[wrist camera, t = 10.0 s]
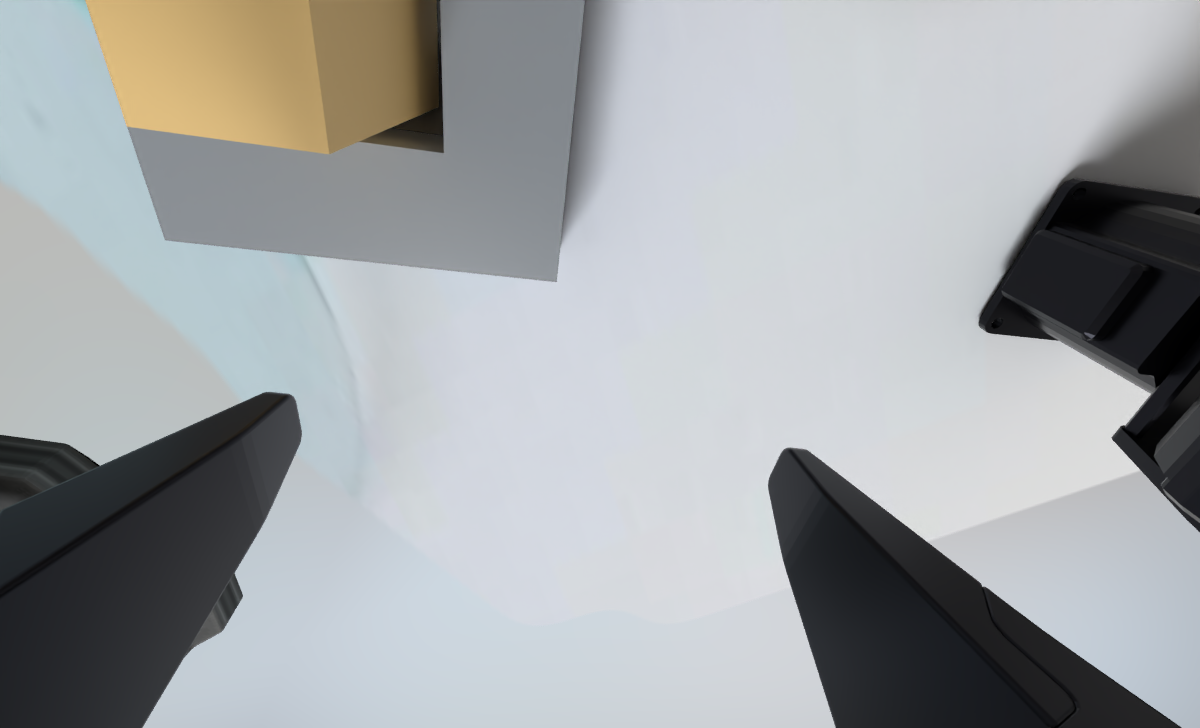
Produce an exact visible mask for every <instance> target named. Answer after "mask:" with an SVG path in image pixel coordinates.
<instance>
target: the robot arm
mask: <svg viewBox="0 0 1200 728" xmlns="http://www.w3.org/2000/svg"><path fill="white" fill-rule="evenodd" d="M1075 191H1076V193H1075V194H1074V195H1073V193H1074V192H1075ZM1072 195H1073V196H1072ZM994 320H995V321H994ZM993 321H994V322H993ZM992 322H993V323H992ZM979 326H980V328H981V329H983V330H985V331H986V332H988V333H991V334H1001V335H1010V336H1020V337H1029V338H1039V339H1048V340H1058V341H1061V342H1062V343H1064V344H1066V345H1068V346H1069V347H1071V348H1073V349H1075V350H1076V351H1078V352H1080V353H1081V354H1083V355H1085V356H1087V357H1088V358H1090V359H1092V360H1094V361H1095V362H1097V363H1099V364H1101V365H1102V366H1104V367H1106V368H1107V369H1109V370H1111V371H1113V372H1114V373H1116V374H1118V375H1120V376H1121V377H1123V378H1125V379H1126V380H1128V381H1130V382H1132V383H1133V384H1135V385H1137V386H1139V387H1140V388H1142V389H1144V390H1145V391H1147V392H1149V393H1151V395H1150V396H1149V397H1148V399H1147V400H1146V401H1145V402H1144V404H1143V405H1142V406H1141V407H1140V408H1139V410H1138V411H1137V412H1136V413H1135V415H1134V416H1133V417H1132V418H1131V419H1130V421H1129V422H1128V423H1127V424H1126V426H1121V427H1120V428H1119V429H1118V430H1117V432H1116V433H1115V434H1114V435H1113V436H1112V440H1113V441H1114V442H1115V443H1116V444H1117V445H1118V446H1119V447H1120V448H1121V449H1122V450H1123V451H1124V453H1125V454H1126V455H1127V456H1128V457H1129V458H1130V459H1131V460H1132V461H1133V462H1134V463H1135V464H1136V466H1137V467H1138V468H1139V469H1140V470H1141V471H1142V472H1143V473H1144V474H1145V475H1146V476H1147V477H1148V478H1149V480H1150V481H1151V482H1152V483H1153V484H1154V485H1155V486H1156V487H1157V488H1158V489H1159V490H1160V491H1161V493H1162V494H1163V495H1164V496H1165V497H1166V498H1167V499H1168V500H1169V501H1170V502H1171V503H1172V504H1173V506H1174V507H1175V508H1176V509H1177V510H1178V511H1179V512H1180V513H1181V514H1182V515H1183V516H1184V517H1185V518H1186V520H1187V521H1189V522H1190V523H1191V524H1192V525H1193V526H1194V527H1195V528H1196V529H1197V530H1198V531H1199V532H1200V197H1195V196H1189V195H1182V194H1176V193H1169V192H1163V191H1156V190H1150V189H1143V188H1137V187H1130V186H1124V185H1117V184H1111V183H1104V182H1098V181H1091V180H1085V179H1072V180H1069V181H1067V182H1066V183H1065V184H1063V185H1062V186H1061V188H1060V189H1059V190H1058V192H1057V193H1056V195H1055V197H1054V198H1053V200H1052V202H1051V203H1050V205H1049V206H1048V208H1047V210H1046V211H1045V213H1044V215H1043V216H1042V218H1041V220H1040V221H1039V223H1038V224H1037V226H1036V228H1035V229H1034V231H1033V233H1032V234H1031V236H1030V238H1029V239H1028V241H1027V242H1026V244H1025V246H1024V247H1023V249H1022V251H1021V252H1020V254H1019V256H1018V257H1017V259H1016V260H1015V262H1014V264H1013V265H1012V267H1011V269H1010V270H1009V272H1008V274H1007V275H1006V277H1005V278H1004V280H1003V282H1002V283H1001V285H1000V287H999V288H998V290H997V291H996V293H995V295H994V296H993V298H992V300H991V301H990V303H989V305H988V306H987V308H986V309H985V311H984V313H983V314H982V316H981V318H980V320H979ZM301 437H302V430H301V425H300V419H299V414H298V409H297V404H296V400H295V398H294V397H293V396H292V395H290V394H284V393H275V392H265V393H262V394H260V395H258V396H255V397H253V398H251V399H249V400H246V401H244V402H242V403H240V404H238V405H235V406H233V407H231V408H229V409H226V410H224V411H222V412H220V413H218V414H215V415H213V416H211V417H209V418H206V419H204V420H202V421H200V422H197V423H195V424H193V425H191V426H188V427H186V428H184V429H182V430H179V431H177V432H175V433H173V434H170V435H168V436H166V437H164V438H162V439H159V440H157V441H155V442H153V443H150V444H148V445H146V446H144V447H142V448H139V449H137V450H135V451H132V452H130V453H128V454H126V455H123V456H121V457H119V458H117V459H114V460H112V461H110V462H108V463H105V464H103V465H101V466H99V467H97V468H94V469H92V470H90V471H88V472H85V473H83V474H81V475H79V476H76V477H74V478H72V479H70V480H67V481H65V482H63V483H61V484H58V485H56V486H54V487H52V488H49V489H47V490H45V491H43V492H40V493H38V494H36V495H34V496H32V497H29V498H27V499H25V500H23V501H20V502H18V503H16V504H14V505H11V506H9V507H7V508H5V509H3V510H1V512H0V728H142V727H143V726H144V724H145V722H146V721H147V719H148V717H149V715H150V714H151V712H152V711H153V709H154V707H155V705H156V704H157V702H158V700H159V699H160V697H161V695H162V694H163V692H164V690H165V689H166V687H167V685H168V684H169V682H170V680H171V679H172V677H173V675H174V674H175V672H176V670H177V669H178V667H179V665H180V663H181V662H182V660H183V658H184V657H185V655H186V653H187V652H188V650H189V648H190V647H191V645H192V643H193V642H194V640H195V638H196V637H197V635H198V633H199V632H200V630H201V628H202V627H203V625H204V623H205V621H206V620H207V618H208V616H209V615H210V613H211V611H212V610H213V608H214V606H215V605H216V603H217V601H218V600H219V598H220V596H221V595H222V593H223V591H224V590H225V588H226V586H227V585H228V583H229V581H230V579H231V578H232V576H233V574H234V573H235V571H236V569H237V568H238V566H239V564H240V563H241V561H242V559H243V558H244V556H245V554H246V553H247V551H248V549H249V547H250V546H251V544H252V543H253V541H254V539H255V537H256V536H257V534H258V532H259V531H260V529H261V527H262V525H263V523H264V521H265V520H266V518H267V515H268V513H269V511H270V509H271V507H272V505H273V503H274V500H275V498H276V496H277V494H278V491H279V489H280V487H281V485H282V482H283V480H284V478H285V476H286V474H287V472H288V469H289V467H290V465H291V462H292V460H293V458H294V456H295V454H296V451H297V449H298V447H299V445H300V442H301ZM768 489H769V495H770V500H771V504H772V509H773V514H774V519H775V524H776V529H777V534H778V539H779V544H780V549H781V553H782V557H783V562H784V565H785V568H786V572H787V575H788V578H789V581H790V585H791V588H792V591H793V594H794V597H795V600H796V604H797V607H798V609H799V613H800V616H801V619H802V622H803V626H804V629H805V632H806V635H807V638H808V641H809V645H810V648H811V651H812V654H813V657H814V660H815V664H816V667H817V670H818V673H819V676H820V679H821V682H822V686H823V689H824V692H825V695H826V698H827V701H828V705H829V707H830V711H831V714H832V717H833V720H834V724H835V726H836V728H1181V727H1180V726H1178V725H1177V724H1175V723H1174V722H1173V721H1171V720H1170V719H1168V718H1167V717H1166V716H1164V715H1163V714H1161V713H1160V712H1158V711H1157V710H1156V709H1154V708H1153V707H1151V706H1150V705H1148V704H1147V703H1145V702H1144V701H1143V700H1141V699H1140V698H1138V697H1137V696H1135V695H1134V694H1132V693H1131V692H1130V691H1128V690H1127V689H1125V688H1124V687H1123V686H1121V685H1120V684H1118V683H1117V682H1115V681H1114V680H1113V679H1111V678H1110V677H1108V676H1107V675H1105V674H1104V673H1103V672H1101V671H1100V670H1098V669H1097V668H1095V667H1094V666H1093V665H1091V664H1090V663H1088V662H1087V661H1085V660H1084V659H1083V658H1081V657H1080V656H1078V655H1077V654H1076V653H1074V652H1073V651H1071V650H1070V649H1068V648H1067V647H1066V646H1064V645H1063V644H1061V643H1060V642H1059V641H1057V640H1056V639H1054V638H1053V637H1052V636H1050V635H1049V634H1047V633H1046V632H1045V631H1043V630H1042V629H1041V628H1039V627H1038V626H1037V625H1035V624H1034V623H1033V622H1031V621H1030V620H1028V619H1027V618H1026V617H1025V616H1023V615H1022V614H1021V613H1019V612H1018V611H1017V610H1015V609H1014V608H1012V607H1011V606H1010V605H1008V604H1007V603H1006V602H1005V601H1003V600H1002V599H1001V598H999V597H998V596H997V595H995V594H994V593H993V592H992V591H990V590H989V589H988V588H986V587H982V585H981V583H980V582H979V581H977V580H976V579H975V578H973V577H972V576H971V575H969V574H968V573H967V572H966V571H964V570H963V569H962V568H960V567H959V566H958V565H956V564H955V563H954V562H952V561H951V560H950V559H949V558H947V557H946V556H945V555H943V554H942V553H941V552H939V551H938V550H937V549H936V548H934V547H933V546H932V545H930V544H929V543H928V542H926V541H925V540H924V539H923V538H921V537H920V536H919V535H917V534H916V533H915V532H913V531H912V530H911V529H909V528H908V527H907V526H906V525H904V524H903V523H902V522H900V521H899V520H898V519H896V518H895V517H894V516H893V515H891V514H890V513H889V512H887V511H886V510H885V509H883V508H882V507H881V506H880V505H878V504H877V503H876V502H874V501H873V500H872V499H870V498H869V497H868V496H867V495H865V494H864V493H863V492H861V491H860V490H859V489H857V488H856V487H855V486H854V485H852V484H851V483H850V482H848V481H847V480H846V479H844V478H843V477H842V476H840V475H839V474H838V473H837V472H835V471H834V470H833V469H831V468H830V467H829V466H827V465H826V464H825V463H824V462H822V461H821V460H820V459H818V458H817V457H816V456H814V455H813V454H812V453H811V452H809V451H808V450H805V449H798V448H786V449H784V450H783V451H782V453H781V454H780V456H779V459H778V461H777V463H776V465H775V467H774V469H773V471H772V473H771V475H770V478H769V482H768Z"/></svg>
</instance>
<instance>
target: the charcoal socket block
mask: <svg viewBox="0 0 1200 728" xmlns="http://www.w3.org/2000/svg"><path fill="white" fill-rule="evenodd" d="M85 1H86V0H85ZM86 4H87V3H86ZM584 4H585V0H440V17H441V56H442V96H443V135H444V136H442V135H435V134H428V133H420V132H413V131H406V130H399V129H392V128H389V129H387V130H385V131H382V132H380V133H378V134H375V135H373V136H371V137H368V138H366V139H364V140H362V141H359V142H357V143H355V144H352V145H350V146H348V147H345V148H343V149H341V150H338V151H336V152H334V153H331V154H323V153H315V152H308V151H301V150H294V149H286V148H279V147H272V146H264V145H257V144H250V143H243V142H235V141H228V140H221V139H213V138H206V137H199V136H192V135H184V134H177V133H170V132H162V131H155V130H148V129H141V128H133V127H128V130H129V133H130V136H131V139H132V142H133V145H134V148H135V151H136V154H137V157H138V160H139V163H140V166H141V169H142V172H143V175H144V178H145V181H146V184H147V187H148V190H149V193H150V196H151V199H152V202H153V205H154V208H155V211H156V214H157V217H158V220H159V223H160V226H161V229H162V232H163V235H164V238H165V240H167V241H176V242H186V243H195V244H204V245H214V246H223V247H232V248H242V249H251V250H261V251H270V252H279V253H289V254H298V255H308V256H317V257H326V258H336V259H345V260H354V261H364V262H373V263H383V264H392V265H401V266H411V267H420V268H430V269H439V270H448V271H458V272H467V273H477V274H486V275H495V276H505V277H514V278H523V279H533V280H542V281H552V282H557V273H558V263H559V253H560V243H561V234H562V224H563V214H564V204H565V194H566V184H567V174H568V164H569V154H570V144H571V134H572V124H573V114H574V104H575V94H576V84H577V74H578V64H579V54H580V44H581V34H582V24H583V14H584Z"/></svg>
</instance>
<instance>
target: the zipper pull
mask: <svg viewBox="0 0 1200 728" xmlns="http://www.w3.org/2000/svg"><path fill="white" fill-rule="evenodd" d="M99 466H100V465H98V464H97V463H96V462H94V461H93V460H92V459H90V458H89V457H87V456H86V455H84V454H83V453H81V452H80V451H78V450H76V449H75V448H73V447H71V446H70V445H68V444H64V443H58V442H50V441H42V440H35V439H28V438H21V437H13V436H6V435H0V512H1V510H3V509H5V508H7V507H9V506H11V505H14V504H16V503H18V502H20V501H23V500H25V499H27V498H29V497H32V496H34V495H36V494H38V493H40V492H43V491H45V490H47V489H49V488H52V487H54V486H56V485H58V484H61V483H63V482H65V481H67V480H70V479H72V478H74V477H76V476H79V475H81V474H83V473H85V472H88V471H90V470H92V469H94V468H97V467H99ZM242 597H243V594H242V591H241V589H240V586H239V584H238V581H237V579H236V576H235V573H234V574H233V576H232V578H231V579H230V581H229V583H228V585H227V586H226V588H225V590H224V591H223V593H222V595H221V596H220V598H219V600H218V601H217V603H216V605H215V606H214V608H213V610H212V611H211V613H210V615H209V616H208V618H207V620H206V621H205V623H204V625H203V627H202V628H201V630H200V632H199V633H198V635H197V637H196V638H195V640H194V642H193V643H192V645H191V647H190V648H189V650H188V652H187V653H186V655H187V654H188V653H189V652H190V650H191V649H192V648H194V647H195V646H197V645H199V644H200V643H202V642H204V641H206V640H208V639H210V638H211V637H213V636H215V635H217V634H219V633H220V632H222V631H223V629H224V628H225V626H226V624H227V623H228V621H229V619H230V618H231V616H232V614H233V613H234V611H235V609H236V608H237V606H238V604H239V603H240V601H241V599H242ZM186 655H185V656H186Z"/></svg>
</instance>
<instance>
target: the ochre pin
mask: <svg viewBox="0 0 1200 728" xmlns="http://www.w3.org/2000/svg"><path fill="white" fill-rule="evenodd" d="M86 3H87V7H88V10H89V13H90V16H91V19H92V22H93V25H94V28H95V31H96V34H97V37H98V40H99V43H100V46H101V49H102V52H103V55H104V58H105V61H106V64H107V67H108V70H109V73H110V76H111V79H112V83H113V86H114V89H115V92H116V95H117V98H118V101H119V104H120V107H121V110H122V113H123V116H124V119H125V122H126V125H127V127H133V128H141V129H148V130H155V131H162V132H170V133H177V134H184V135H192V136H199V137H206V138H213V139H221V140H228V141H235V142H243V143H250V144H257V145H264V146H272V147H279V148H286V149H294V150H301V151H308V152H315V153H323V154H331V153H334V152H336V151H338V150H341V149H343V148H345V147H348V146H350V145H352V144H355V143H357V142H359V141H362V140H364V139H366V138H368V137H371V136H373V135H375V134H378V133H380V132H382V131H385V130H387V129H389V128H392V127H394V126H396V125H399V124H401V123H403V122H405V121H408V120H410V119H412V118H415V117H417V116H419V115H422V114H424V113H426V112H429V111H431V110H433V109H435V108H438V107H439V78H438V36H437V0H86Z"/></svg>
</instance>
